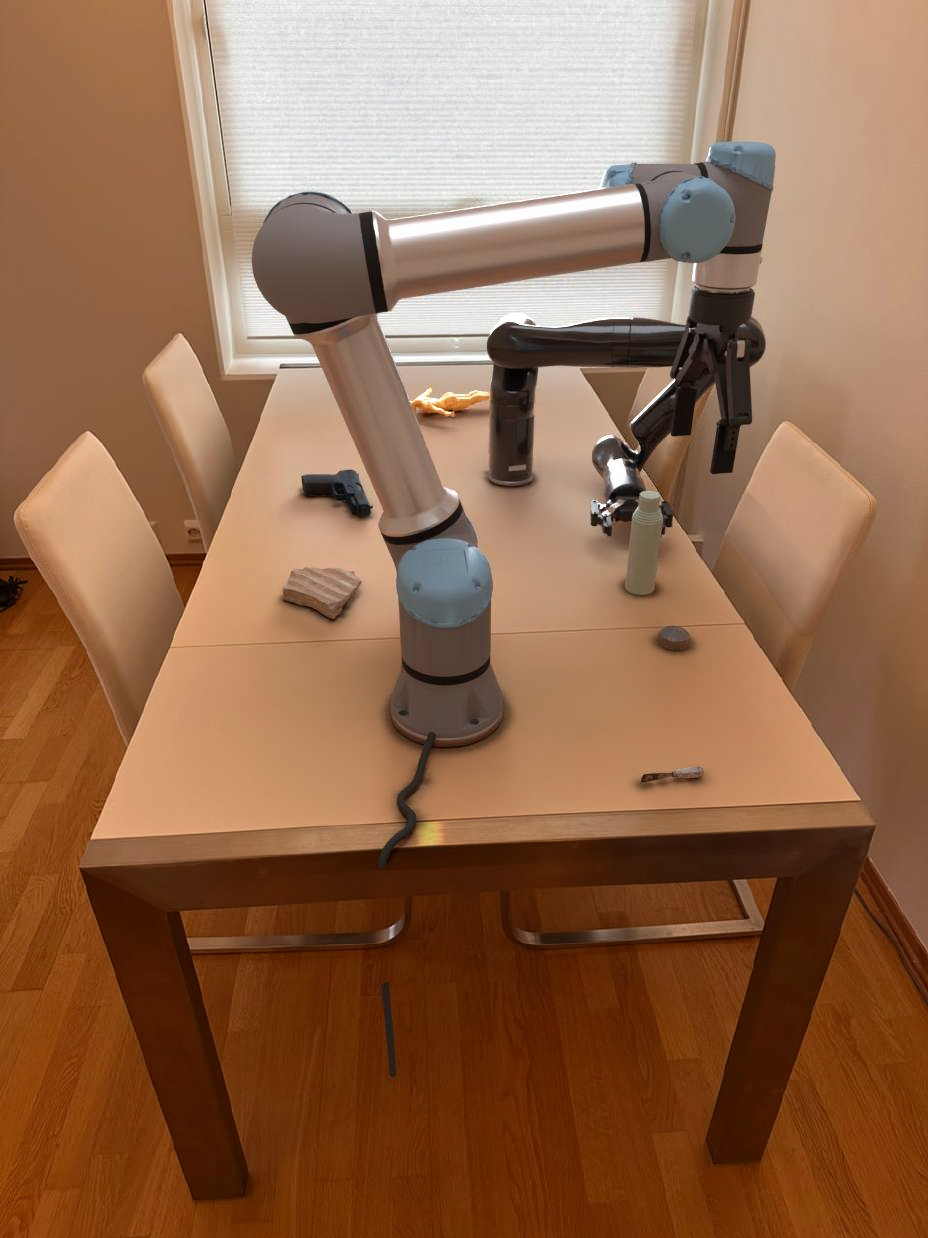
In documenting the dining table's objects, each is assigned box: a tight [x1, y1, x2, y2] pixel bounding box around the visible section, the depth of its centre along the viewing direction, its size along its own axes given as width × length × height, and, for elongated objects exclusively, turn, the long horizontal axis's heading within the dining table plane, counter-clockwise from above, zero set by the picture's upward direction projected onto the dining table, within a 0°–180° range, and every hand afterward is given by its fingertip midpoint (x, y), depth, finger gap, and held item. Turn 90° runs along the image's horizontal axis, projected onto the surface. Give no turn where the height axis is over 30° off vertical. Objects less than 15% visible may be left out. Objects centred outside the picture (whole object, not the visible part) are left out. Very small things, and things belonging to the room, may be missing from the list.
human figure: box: [410, 385, 490, 418], centre depth 225 cm, size 20×20×4 cm
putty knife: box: [640, 765, 705, 784], centre depth 109 cm, size 1×8×2 cm, turn 103°
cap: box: [658, 625, 690, 652], centre depth 135 cm, size 4×4×2 cm
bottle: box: [624, 490, 663, 596], centre depth 145 cm, size 5×5×17 cm
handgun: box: [301, 469, 374, 518], centre depth 178 cm, size 3×18×12 cm
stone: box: [281, 566, 362, 620], centre depth 147 cm, size 13×12×3 cm
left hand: (699, 453), depth 119 cm, fingers open, 13 cm apart
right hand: (635, 532), depth 152 cm, fingers open, 8 cm apart
